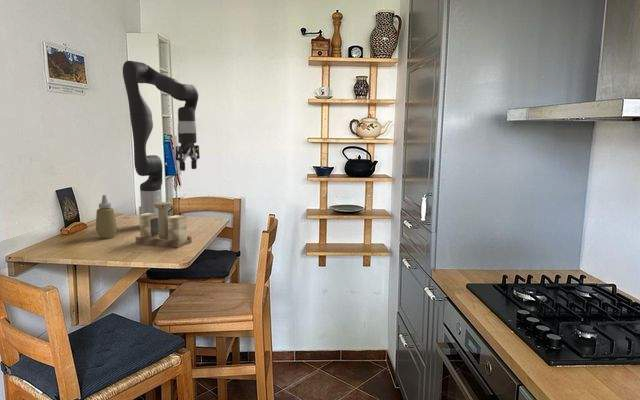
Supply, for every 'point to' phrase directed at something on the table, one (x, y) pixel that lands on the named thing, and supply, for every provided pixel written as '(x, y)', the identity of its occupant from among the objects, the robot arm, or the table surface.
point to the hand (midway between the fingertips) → (188, 169)
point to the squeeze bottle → (105, 219)
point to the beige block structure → (151, 232)
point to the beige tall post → (163, 218)
